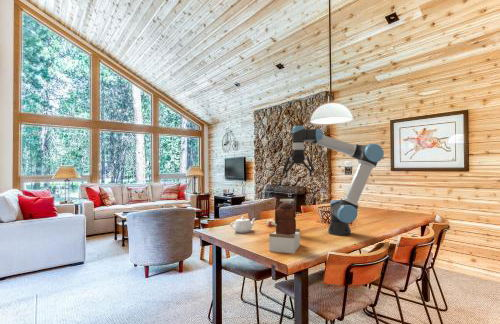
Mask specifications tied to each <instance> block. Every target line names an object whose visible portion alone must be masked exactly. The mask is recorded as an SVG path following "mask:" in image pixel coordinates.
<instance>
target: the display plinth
mask: <svg viewBox="0 0 500 324" xmlns="http://www.w3.org/2000/svg"><path fill="white" fill-rule="evenodd" d="M268 234H269V237H268V243H269V244H268V246H269V247H268V251H269V252H273V253H274V252H275V253H285V254H295V253H296V252H297V250H298V249H299V247H300V246H301V228H296V231H295V234H288V235H285V234H276V230H275V231H274V232H272V233H268Z"/></svg>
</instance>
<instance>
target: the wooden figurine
mask: <svg viewBox="0 0 500 324" xmlns="http://www.w3.org/2000/svg"><path fill="white" fill-rule="evenodd" d="M296 211H297V210H296V209H295V208H294V206H293V204H290V203H283V202H281V204H279V205H278V206H277V208H276V209H275V210H274V221H275V224H277V225H275V231H276V234H285V235H288V234H295V231H296V229H297V221H296V217H297V213H296Z"/></svg>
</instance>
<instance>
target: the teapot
mask: <svg viewBox="0 0 500 324" xmlns="http://www.w3.org/2000/svg"><path fill="white" fill-rule="evenodd" d="M255 219H257V218H256V217H254V218H252V220H251V219H249V218H245V217H244V216H241V217H240V218H237V219H235V221H233V222H230V225H229V226H230V228H232V230H234V231H235V232H236V233H240V234H242V233H244V234H245V233H246V234H247V233H249V232H251V230H253V226H254V223H255V221H256V220H255Z"/></svg>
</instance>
